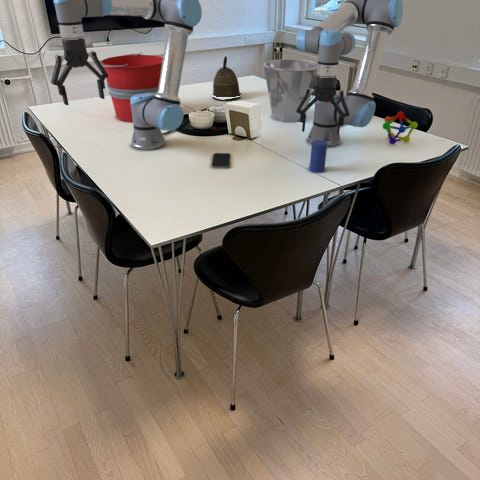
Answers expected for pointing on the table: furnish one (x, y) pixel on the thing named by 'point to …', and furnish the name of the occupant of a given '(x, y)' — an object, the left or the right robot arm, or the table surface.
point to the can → (318, 156)
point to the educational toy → (398, 128)
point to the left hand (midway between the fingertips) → (84, 101)
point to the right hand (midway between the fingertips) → (320, 132)
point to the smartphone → (221, 160)
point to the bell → (225, 82)
